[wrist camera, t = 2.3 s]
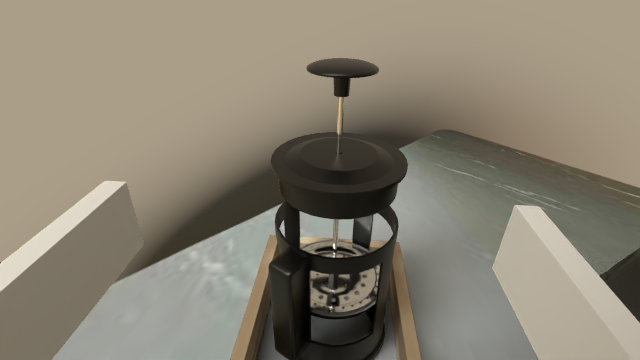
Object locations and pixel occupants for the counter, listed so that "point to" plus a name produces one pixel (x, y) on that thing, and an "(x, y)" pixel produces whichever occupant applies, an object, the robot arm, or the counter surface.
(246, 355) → the wooden frame
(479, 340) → the counter surface
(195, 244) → the counter surface
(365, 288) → the french press
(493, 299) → the counter surface
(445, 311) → the counter surface
